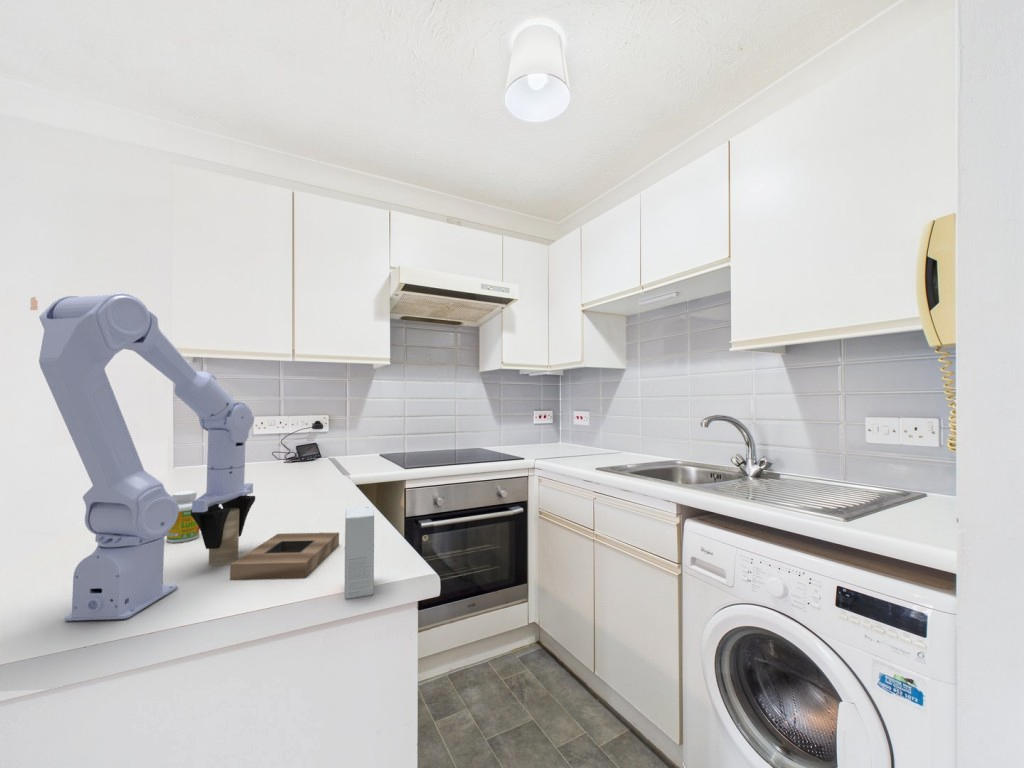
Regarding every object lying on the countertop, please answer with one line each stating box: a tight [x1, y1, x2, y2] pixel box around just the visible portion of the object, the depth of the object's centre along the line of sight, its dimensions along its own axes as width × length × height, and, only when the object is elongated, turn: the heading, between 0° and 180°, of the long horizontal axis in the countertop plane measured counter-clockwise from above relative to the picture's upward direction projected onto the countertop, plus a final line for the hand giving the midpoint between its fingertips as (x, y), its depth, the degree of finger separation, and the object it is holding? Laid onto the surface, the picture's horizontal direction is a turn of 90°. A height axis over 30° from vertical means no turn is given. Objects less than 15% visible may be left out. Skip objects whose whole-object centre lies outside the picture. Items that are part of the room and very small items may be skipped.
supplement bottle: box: [166, 490, 200, 544], centre depth 88 cm, size 5×5×10 cm
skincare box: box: [344, 505, 375, 600], centre depth 65 cm, size 6×4×12 cm
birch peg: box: [208, 508, 240, 567], centre depth 76 cm, size 4×4×9 cm
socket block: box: [229, 532, 340, 581], centre depth 76 cm, size 16×12×2 cm
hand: (224, 542), depth 76 cm, fingers open, 6 cm apart
